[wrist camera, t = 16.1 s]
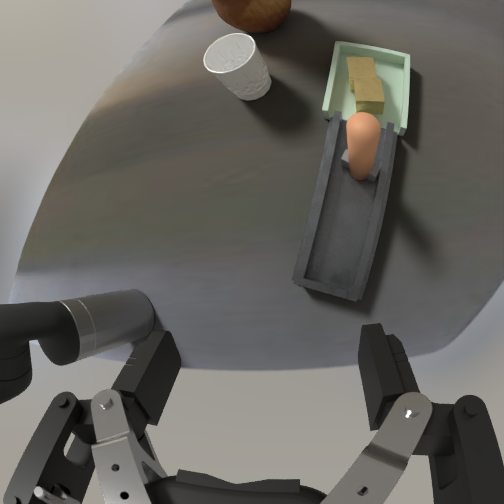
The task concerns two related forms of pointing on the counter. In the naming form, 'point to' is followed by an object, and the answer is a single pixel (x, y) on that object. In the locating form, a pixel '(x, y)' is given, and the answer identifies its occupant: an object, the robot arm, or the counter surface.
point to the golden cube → (368, 95)
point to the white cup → (238, 66)
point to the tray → (387, 68)
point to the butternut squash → (253, 13)
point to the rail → (344, 218)
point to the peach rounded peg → (362, 146)
